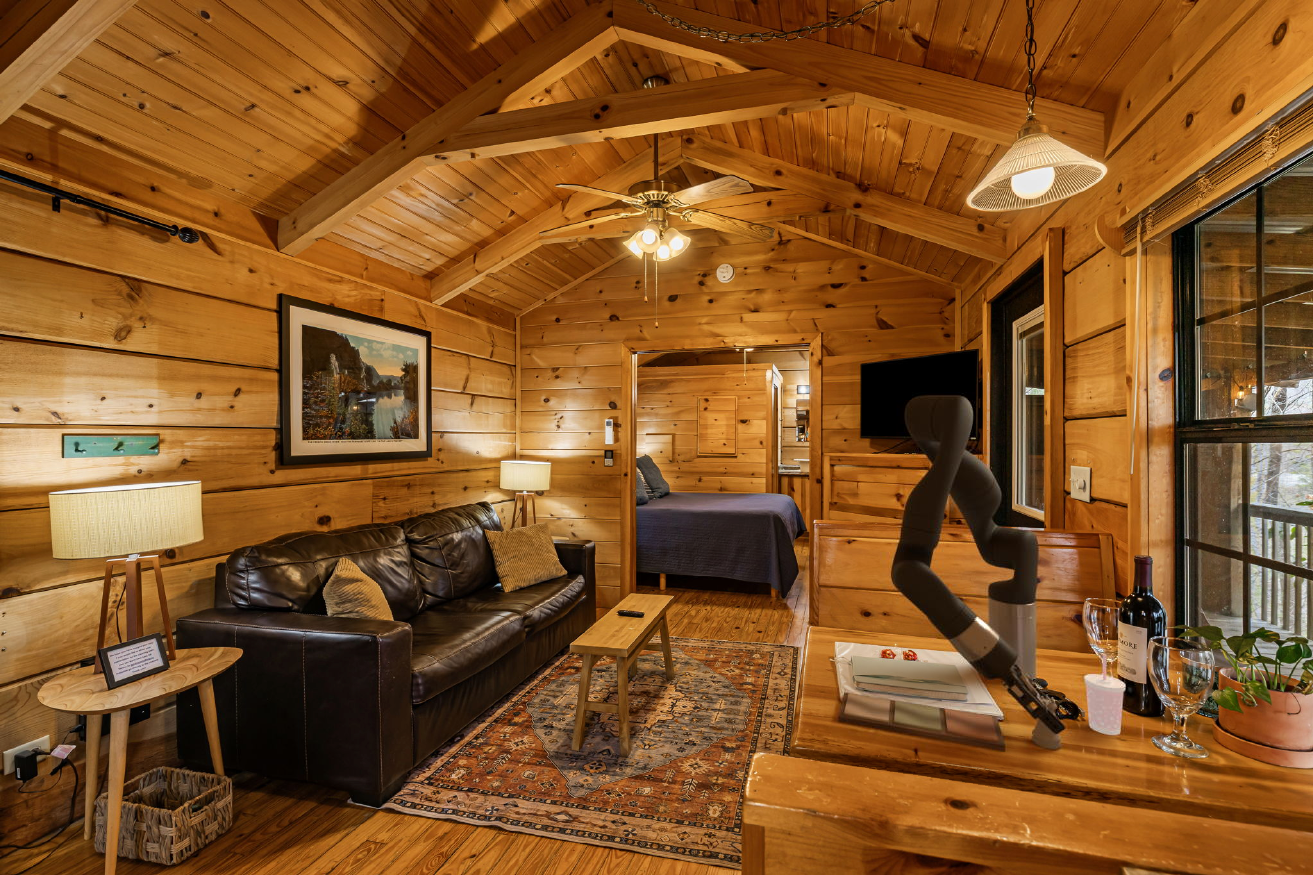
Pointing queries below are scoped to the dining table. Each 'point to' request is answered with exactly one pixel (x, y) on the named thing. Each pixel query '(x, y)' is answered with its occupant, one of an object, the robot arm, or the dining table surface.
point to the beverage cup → (1104, 702)
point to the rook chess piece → (1046, 730)
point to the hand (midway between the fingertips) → (1055, 719)
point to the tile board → (922, 720)
